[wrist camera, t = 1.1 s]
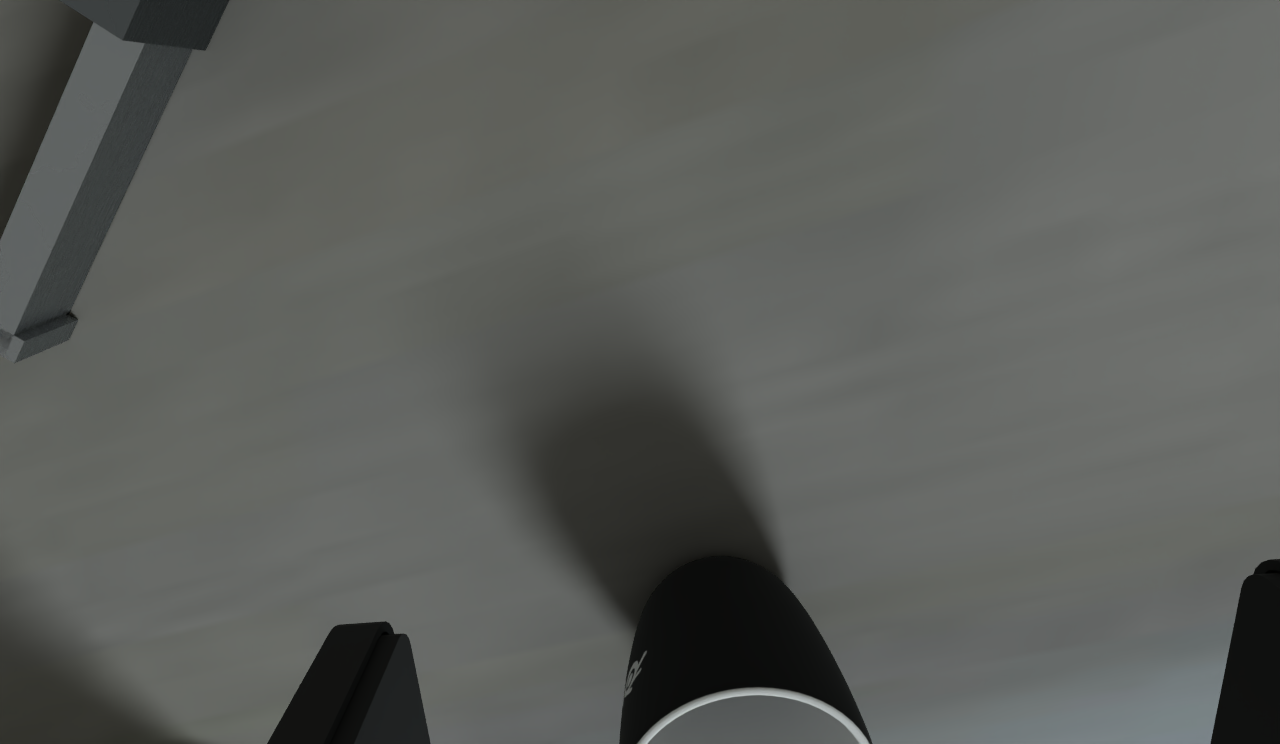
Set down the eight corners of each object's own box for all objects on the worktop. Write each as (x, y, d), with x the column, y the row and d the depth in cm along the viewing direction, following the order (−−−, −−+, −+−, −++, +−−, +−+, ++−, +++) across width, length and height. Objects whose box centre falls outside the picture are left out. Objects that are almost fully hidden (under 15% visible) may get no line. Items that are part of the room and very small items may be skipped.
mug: (612, 535, 35) (607, 697, 26) (815, 521, 35) (886, 678, 26) (632, 751, 39) (633, 962, 30) (815, 739, 39) (876, 946, 30)
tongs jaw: (264, -266, 26) (182, -349, 21) (331, -216, 26) (266, -287, 22) (10, 307, 32) (-99, 343, 27) (68, 339, 32) (-28, 381, 27)
